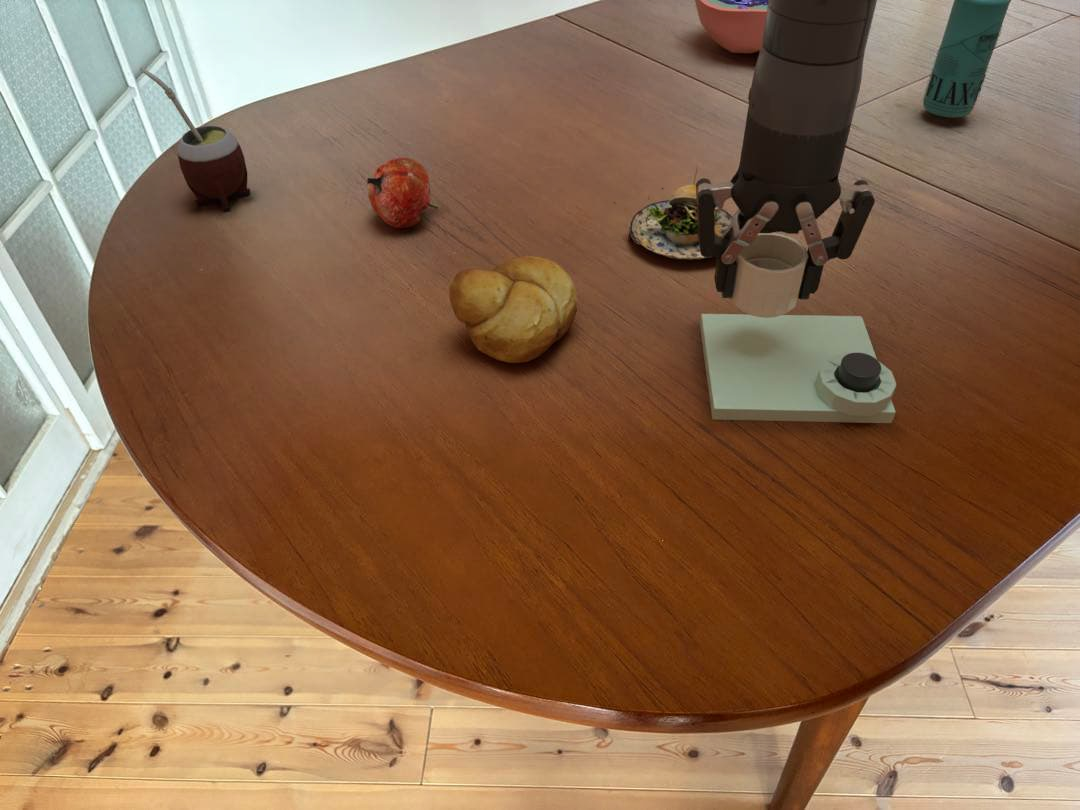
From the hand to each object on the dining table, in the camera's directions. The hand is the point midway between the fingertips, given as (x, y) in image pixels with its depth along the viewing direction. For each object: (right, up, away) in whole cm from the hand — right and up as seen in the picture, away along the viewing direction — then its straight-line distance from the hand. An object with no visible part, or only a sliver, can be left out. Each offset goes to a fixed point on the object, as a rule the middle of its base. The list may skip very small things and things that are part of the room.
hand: (763, 292), depth 75 cm
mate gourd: (-57, +14, +27) cm, 65 cm away
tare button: (+7, -8, -2) cm, 11 cm away
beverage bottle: (+34, +28, +38) cm, 58 cm away
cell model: (+13, +44, +56) cm, 72 cm away
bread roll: (-21, -3, +8) cm, 22 cm away
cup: (0, -1, +1) cm, 1 cm away
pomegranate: (-35, +11, +23) cm, 43 cm away
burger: (-4, +8, +18) cm, 20 cm away
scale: (+3, -7, +3) cm, 8 cm away
